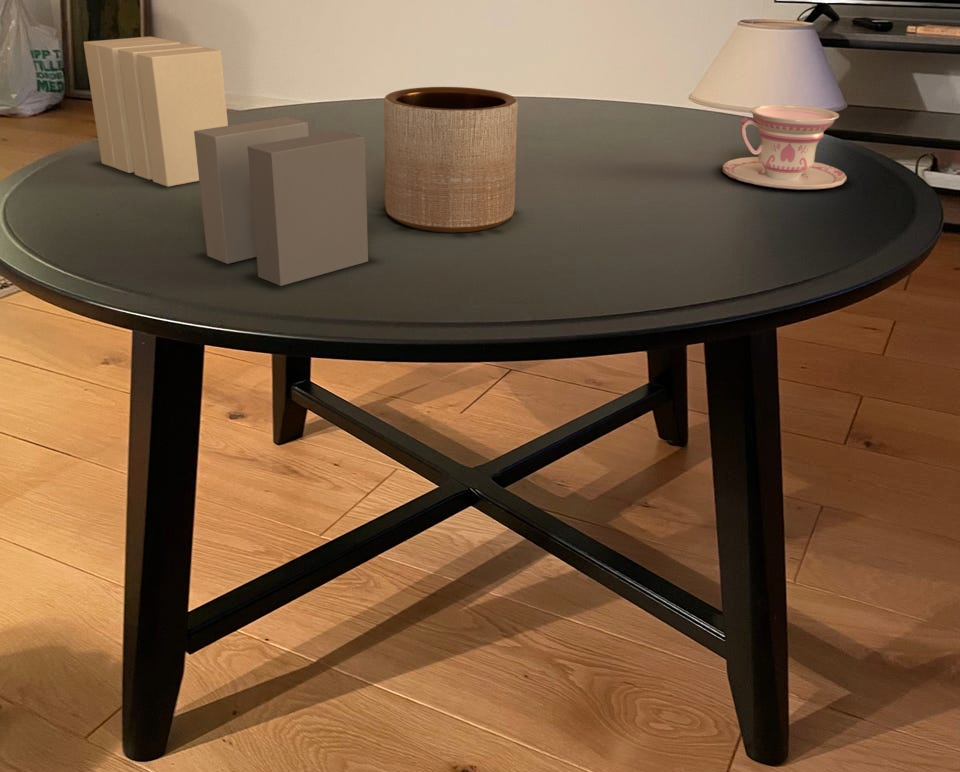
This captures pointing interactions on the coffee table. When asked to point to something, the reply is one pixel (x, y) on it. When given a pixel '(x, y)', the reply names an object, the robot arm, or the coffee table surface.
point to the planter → (450, 158)
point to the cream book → (139, 103)
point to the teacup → (786, 149)
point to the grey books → (283, 197)
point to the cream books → (157, 104)
